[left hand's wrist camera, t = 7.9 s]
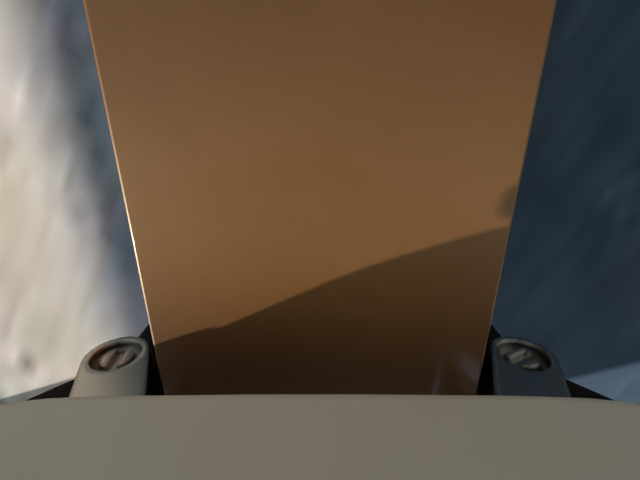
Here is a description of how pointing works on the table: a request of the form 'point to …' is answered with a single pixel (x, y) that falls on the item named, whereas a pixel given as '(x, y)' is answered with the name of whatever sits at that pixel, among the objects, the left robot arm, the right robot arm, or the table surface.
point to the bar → (320, 183)
